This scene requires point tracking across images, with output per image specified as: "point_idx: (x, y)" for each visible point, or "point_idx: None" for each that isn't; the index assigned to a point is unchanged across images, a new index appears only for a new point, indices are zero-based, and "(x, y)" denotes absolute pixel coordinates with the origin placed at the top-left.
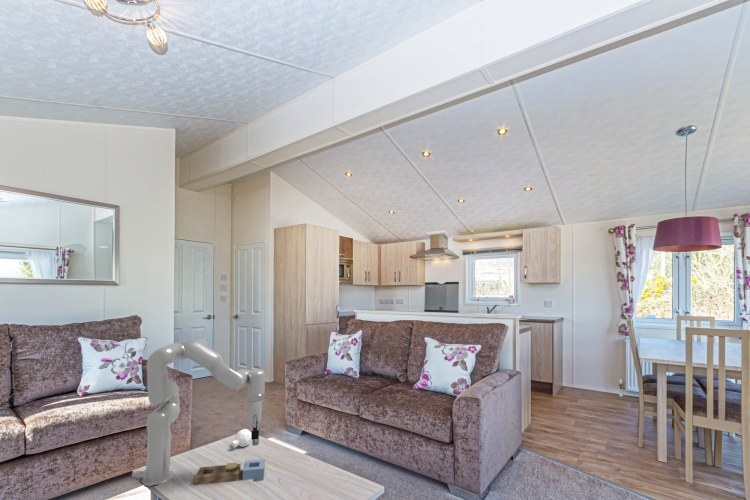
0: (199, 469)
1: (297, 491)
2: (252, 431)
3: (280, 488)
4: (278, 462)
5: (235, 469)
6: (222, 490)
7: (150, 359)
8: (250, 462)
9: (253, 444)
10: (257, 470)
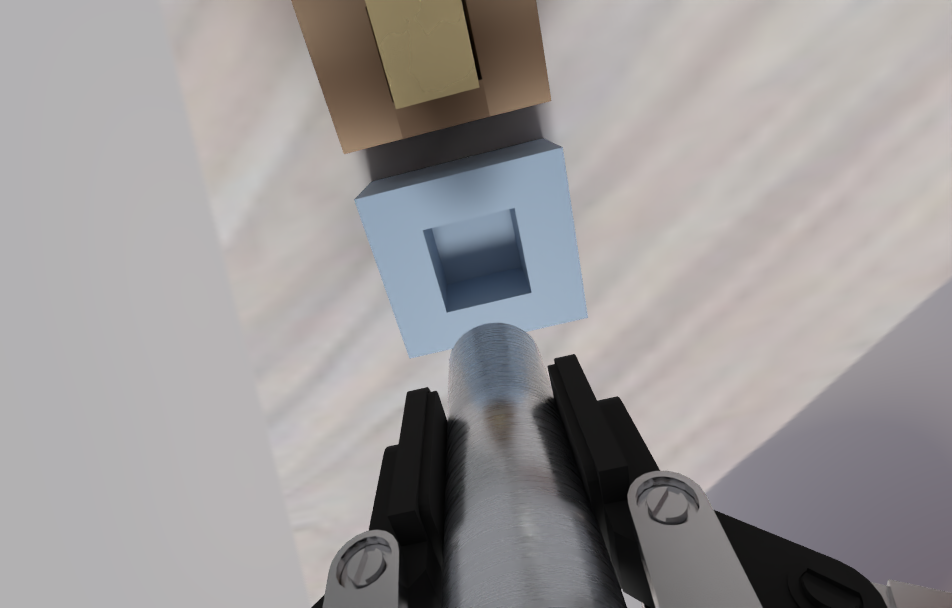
0: None
1: (308, 515)
2: (399, 513)
3: (325, 437)
4: (677, 343)
5: (478, 71)
6: (222, 56)
7: None
8: (524, 213)
9: (453, 356)
10: (396, 311)
